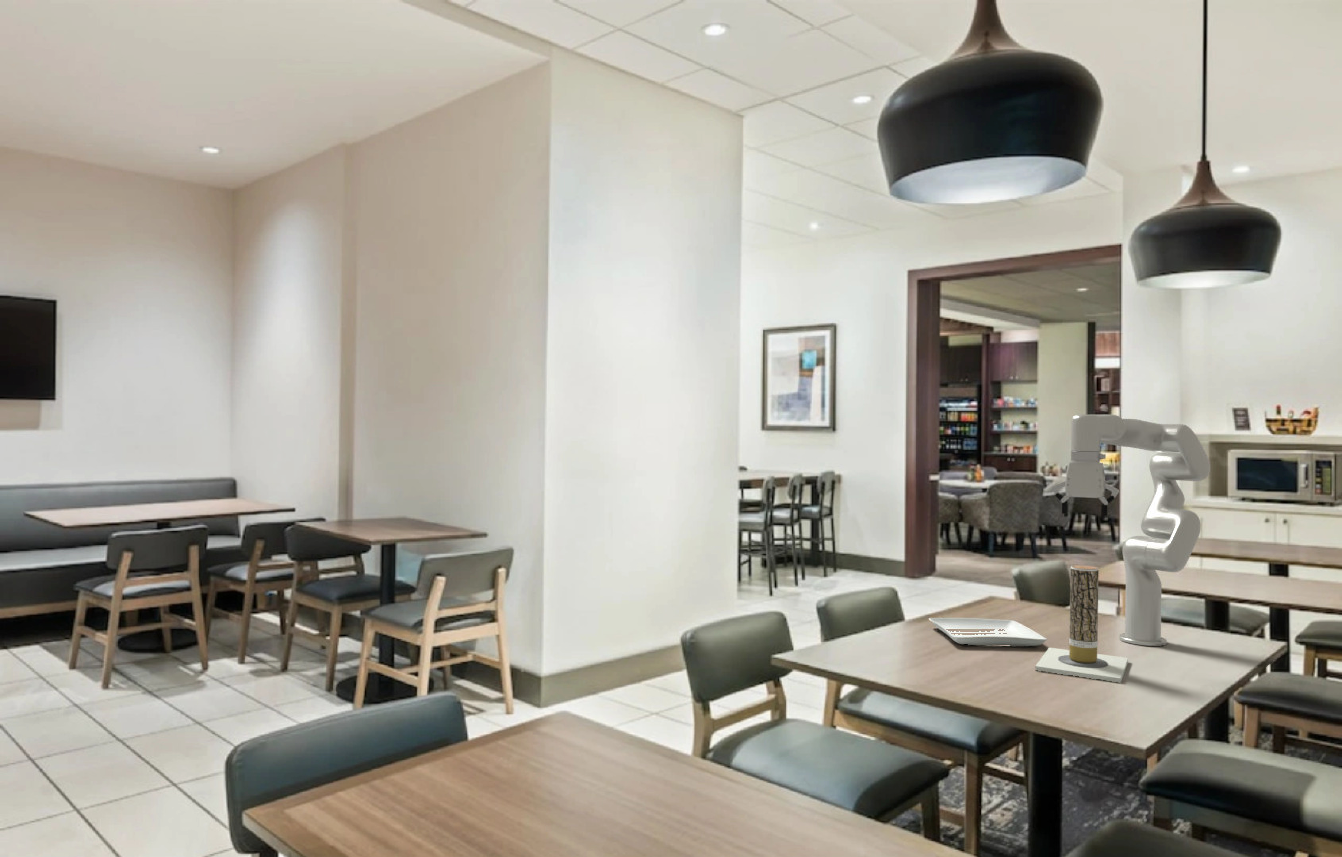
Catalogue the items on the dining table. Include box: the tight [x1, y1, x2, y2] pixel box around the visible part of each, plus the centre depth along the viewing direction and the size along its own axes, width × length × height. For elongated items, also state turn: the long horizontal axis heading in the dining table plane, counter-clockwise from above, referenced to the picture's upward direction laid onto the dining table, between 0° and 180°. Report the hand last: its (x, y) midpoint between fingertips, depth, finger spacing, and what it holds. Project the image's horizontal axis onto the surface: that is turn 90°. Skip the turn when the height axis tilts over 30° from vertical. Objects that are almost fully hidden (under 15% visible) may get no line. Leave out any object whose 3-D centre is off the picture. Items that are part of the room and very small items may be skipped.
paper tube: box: [1068, 564, 1100, 663], centre depth 236 cm, size 7×7×25 cm
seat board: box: [1034, 647, 1129, 684], centre depth 236 cm, size 24×20×2 cm
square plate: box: [928, 617, 1048, 647], centre depth 267 cm, size 27×27×4 cm
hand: (1084, 517), depth 252 cm, fingers open, 9 cm apart
